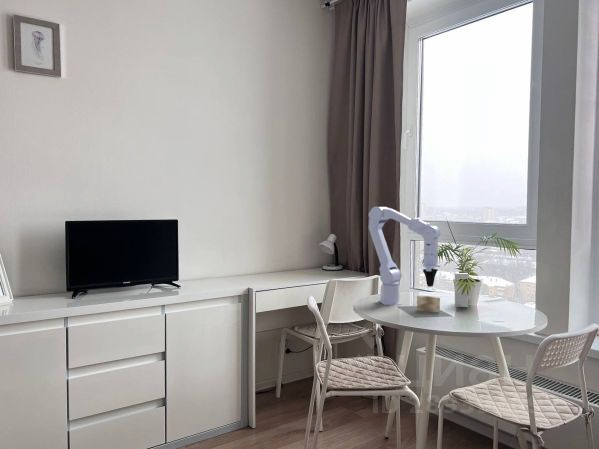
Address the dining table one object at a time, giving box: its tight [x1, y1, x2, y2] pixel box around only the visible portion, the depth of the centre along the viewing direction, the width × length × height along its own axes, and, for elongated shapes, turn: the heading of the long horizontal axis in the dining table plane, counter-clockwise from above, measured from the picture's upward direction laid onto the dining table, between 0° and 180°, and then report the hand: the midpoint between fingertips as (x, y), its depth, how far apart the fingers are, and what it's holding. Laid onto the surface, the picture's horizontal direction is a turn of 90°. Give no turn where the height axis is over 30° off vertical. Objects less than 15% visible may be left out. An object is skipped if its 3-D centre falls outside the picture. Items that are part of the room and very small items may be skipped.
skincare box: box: [454, 271, 470, 308], centre depth 204 cm, size 8×6×15 cm
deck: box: [416, 295, 441, 312], centre depth 192 cm, size 9×2×6 cm, turn 68°
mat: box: [396, 305, 453, 318], centre depth 192 cm, size 20×16×1 cm
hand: (430, 286), depth 197 cm, fingers closed
